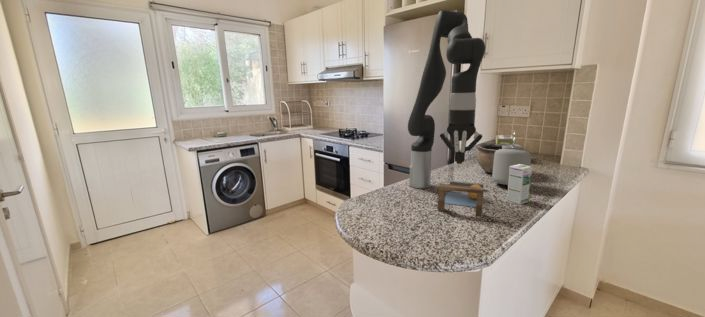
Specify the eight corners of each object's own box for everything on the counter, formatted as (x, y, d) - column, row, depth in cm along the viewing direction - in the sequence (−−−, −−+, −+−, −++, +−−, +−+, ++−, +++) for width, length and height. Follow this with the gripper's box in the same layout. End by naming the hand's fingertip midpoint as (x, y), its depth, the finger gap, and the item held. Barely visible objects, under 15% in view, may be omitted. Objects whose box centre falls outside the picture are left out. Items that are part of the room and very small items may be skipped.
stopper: (449, 187, 136) (450, 181, 135) (450, 185, 137) (450, 180, 137) (482, 190, 130) (483, 185, 129) (483, 189, 132) (483, 183, 131)
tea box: (494, 156, 196) (495, 134, 193) (511, 157, 192) (513, 135, 189) (495, 161, 182) (497, 137, 179) (513, 162, 179) (515, 138, 175)
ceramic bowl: (522, 170, 160) (524, 143, 157) (519, 180, 142) (522, 150, 139) (478, 166, 172) (480, 140, 169) (471, 175, 154) (473, 147, 151)
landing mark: (442, 203, 116) (442, 202, 116) (447, 192, 129) (447, 191, 129) (480, 208, 110) (480, 207, 110) (482, 196, 123) (482, 195, 123)
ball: (471, 190, 124) (466, 200, 121) (469, 180, 121) (464, 190, 118) (486, 193, 121) (481, 203, 117) (485, 183, 117) (480, 193, 114)
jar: (494, 177, 148) (498, 128, 143) (528, 181, 141) (533, 129, 135) (489, 188, 132) (494, 133, 127) (527, 193, 125) (533, 135, 120)
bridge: (481, 216, 103) (483, 190, 101) (437, 210, 109) (438, 185, 107) (481, 213, 105) (483, 188, 103) (439, 207, 112) (440, 183, 110)
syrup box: (520, 204, 113) (524, 168, 109) (506, 200, 118) (509, 165, 115) (529, 202, 115) (533, 166, 112) (515, 197, 120) (518, 163, 117)
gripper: (486, 107, 90) (482, 162, 94) (441, 107, 95) (439, 159, 99) (485, 108, 83) (481, 167, 87) (438, 108, 89) (435, 164, 92)
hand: (459, 163), depth 93 cm, fingers closed
